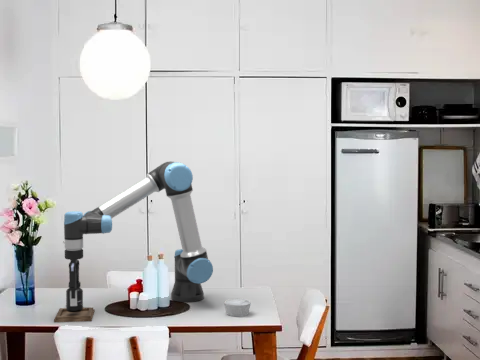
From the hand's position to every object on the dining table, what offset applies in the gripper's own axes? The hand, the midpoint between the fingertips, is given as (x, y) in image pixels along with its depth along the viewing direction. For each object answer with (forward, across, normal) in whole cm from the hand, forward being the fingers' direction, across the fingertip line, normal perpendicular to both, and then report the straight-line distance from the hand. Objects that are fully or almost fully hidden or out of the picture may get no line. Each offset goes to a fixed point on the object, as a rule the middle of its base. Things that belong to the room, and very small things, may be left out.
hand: (74, 303), depth 300 cm
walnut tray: (+6, 0, 0) cm, 6 cm away
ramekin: (+6, +2, +68) cm, 68 cm away
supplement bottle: (+3, 0, 0) cm, 3 cm away
